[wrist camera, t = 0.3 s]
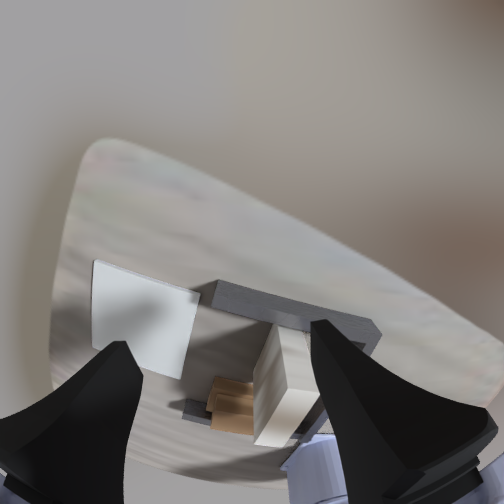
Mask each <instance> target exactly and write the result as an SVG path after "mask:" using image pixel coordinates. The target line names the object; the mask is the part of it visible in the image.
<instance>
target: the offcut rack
mask: <svg viewBox="0 0 504 504" xmlns="http://www.w3.org/2000/svg"><path fill="white" fill-rule="evenodd" d="M211 307H213V308H217V309H220V310H224V311H227V312H231V313H235V314H238V315H242V316H246V317H249V318H253V319H257V320H261V321H265V322H269V323H273V324H277V325H281V326H285V327H290V328H294V329H298V330H303V331H307V332H310V322H311V321H317V320H322V319H327V320H329V321H330V322H331V323H332V324H333V325H334V326H335V327H336V328H337V329H338V330H339V331H340V332H341V333H342V334H343V335H345V336H346V337H347V338H348V339H349V340H350V341H351V342H352V343H353V344H355V345H356V346H357V347H358V348H359V349H361V350H362V351H363V352H364V353H365V354H367V355H368V356H369V357H370V355H371V354H372V352H373V350H374V349H375V347H376V345H377V344H378V342H379V340H380V338H381V336H382V333H381V332H380V331H379V329H378V328H377V327H376V325H375V324H374V323H373V321H372V320H371V319H367V318H363V317H359V316H355V315H350V314H346V313H342V312H338V311H334V310H330V309H326V308H322V307H318V306H314V305H310V304H306V303H302V302H298V301H295V300H291V299H287V298H283V297H280V296H276V295H272V294H268V293H265V292H261V291H258V290H254V289H250V288H247V287H243V286H240V285H236V284H233V283H229V282H226V281H222V280H218V283H217V287H216V290H215V294H214V297H213V301H212V304H211ZM206 407H207V404H204V403H200V402H197V401H193V400H189V399H187V400H186V404H185V408H184V412H183V416H182V419H185V420H188V421H192V422H196V423H200V424H204V425H209V426H211V418H212V412H210V411H206ZM328 418H329V417H328V414H327V412H326V409H325V406H324V404H323V401H322V398H321V395H320V396H319V397H318V399H317V400H316V402H315V403H314V405H313V406H312V408H311V409H310V410H309V412H308V413H307V415H306V416H305V418H304V419H303V420H302V422H301V423H300V425H299V426H298V427H297V429H296V430H295V431H294V433H293V434H292V435H291V437H290V439H298V440H299V443H308V442H309V441H310V440H311V439H312V438H313V436H314V435H315V434H316V433H317V432H318V430H319V429H320V428H321V427H322V425H323V424H324V423H325V421H326V420H327V419H328Z"/></svg>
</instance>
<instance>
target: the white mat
mask: <svg viewBox="0 0 504 504" xmlns="http://www.w3.org/2000/svg"><path fill="white" fill-rule="evenodd" d="M200 295H201V293H198V292H195V291H191V290H188V289H185V288H182V287H179V286H175V285H172V284H169V283H166V282H163V281H160V280H157V279H154V278H151V277H148V276H145V275H142V274H139V273H136V272H133V271H130V270H127V269H124V268H121V267H118V266H116V265H113V264H110V263H107V262H105V261H102V260H99V259H96V260H95V261H94V270H93V286H92V347H93V348H96V349H98V350H100V351H101V350H103V349H104V348H105V347H106V346H107V345H109V344H110V343H111V342H113V341H126V342H127V344H128V346H129V348H130V351H131V353H132V355H133V357H134V359H135V361H136V362H137V364H138V366H140V367H143V368H146V369H148V370H151V371H154V372H157V373H160V374H163V375H166V376H169V377H173V378H176V379H179V380H180V378H181V375H182V370H183V366H184V361H185V357H186V352H187V348H188V344H189V340H190V335H191V331H192V327H193V323H194V319H195V315H196V311H197V307H198V303H199V299H200Z"/></svg>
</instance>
